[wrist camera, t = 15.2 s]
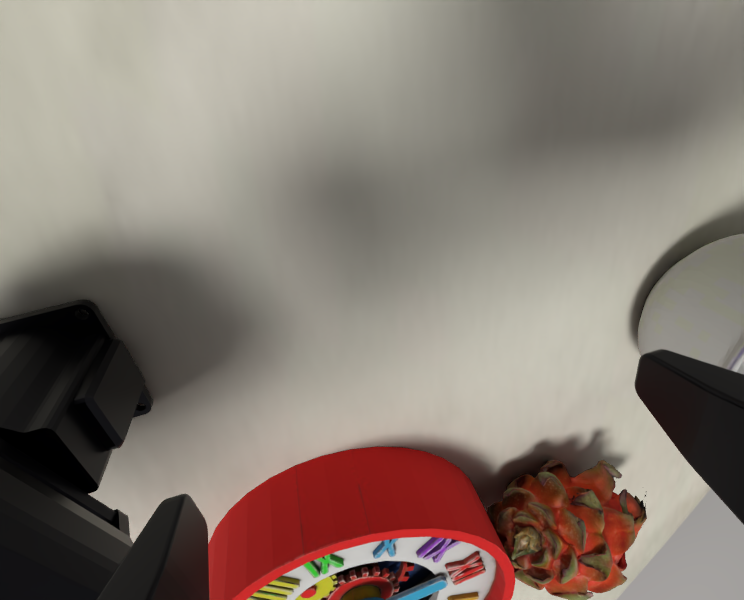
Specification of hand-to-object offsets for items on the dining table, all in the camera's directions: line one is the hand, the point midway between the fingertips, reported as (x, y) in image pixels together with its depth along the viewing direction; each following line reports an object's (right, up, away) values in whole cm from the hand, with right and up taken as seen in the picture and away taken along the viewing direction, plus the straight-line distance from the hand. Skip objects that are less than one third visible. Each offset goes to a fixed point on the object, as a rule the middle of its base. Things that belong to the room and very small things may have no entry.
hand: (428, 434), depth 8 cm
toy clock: (-3, -15, +24) cm, 28 cm away
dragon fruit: (+12, -11, +25) cm, 30 cm away
